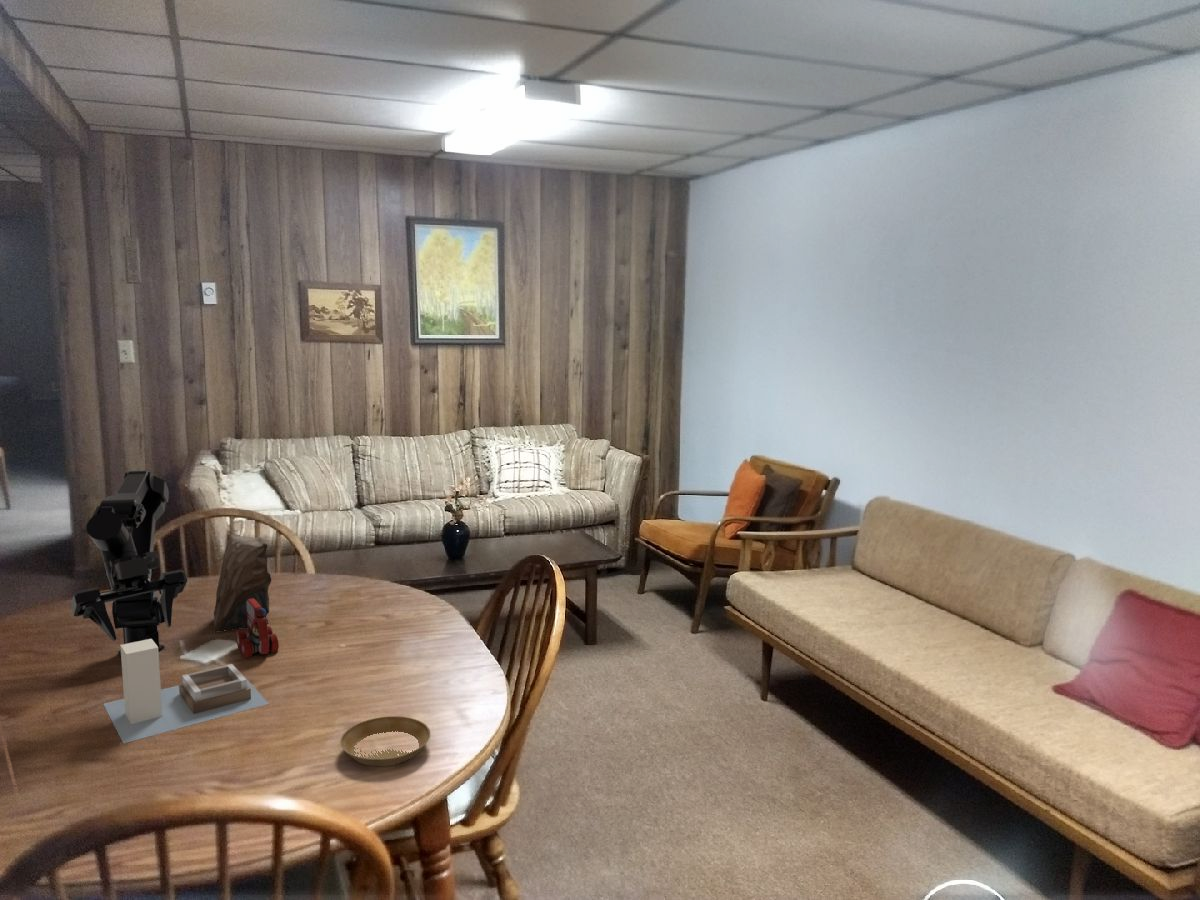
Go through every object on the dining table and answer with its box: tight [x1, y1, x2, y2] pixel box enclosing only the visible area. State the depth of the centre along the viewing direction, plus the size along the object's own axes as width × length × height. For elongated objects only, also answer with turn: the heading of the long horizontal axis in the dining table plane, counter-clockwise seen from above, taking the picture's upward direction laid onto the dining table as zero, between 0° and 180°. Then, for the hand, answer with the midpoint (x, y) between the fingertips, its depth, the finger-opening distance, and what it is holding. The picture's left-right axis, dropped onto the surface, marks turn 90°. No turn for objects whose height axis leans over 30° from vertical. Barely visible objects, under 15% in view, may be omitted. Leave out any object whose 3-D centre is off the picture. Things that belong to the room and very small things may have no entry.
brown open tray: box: [178, 663, 251, 714], centre depth 157 cm, size 10×10×4 cm
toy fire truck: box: [235, 598, 280, 659], centre depth 179 cm, size 7×12×10 cm, turn 35°
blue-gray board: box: [103, 670, 270, 745], centre depth 154 cm, size 18×24×1 cm
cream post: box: [119, 639, 162, 724], centre depth 149 cm, size 5×5×13 cm
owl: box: [213, 533, 272, 633], centre depth 195 cm, size 13×13×20 cm
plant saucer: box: [339, 715, 431, 767], centre depth 141 cm, size 15×15×3 cm
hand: (142, 633), depth 154 cm, fingers open, 9 cm apart
